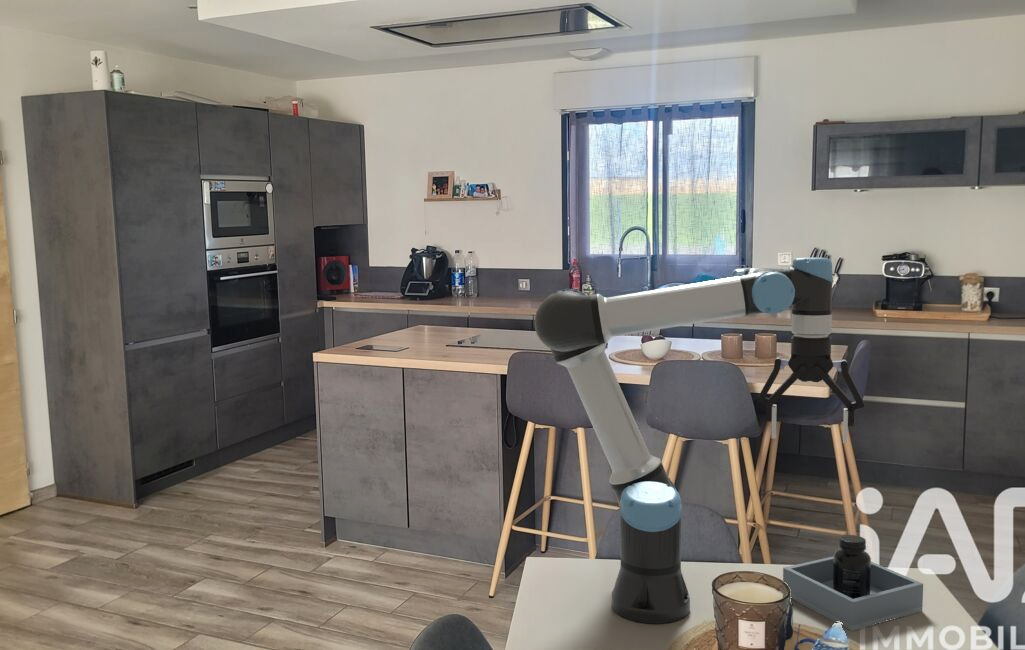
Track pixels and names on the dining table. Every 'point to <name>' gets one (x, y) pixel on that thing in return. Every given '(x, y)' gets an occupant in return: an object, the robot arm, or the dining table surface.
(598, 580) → the dining table surface
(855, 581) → the supplement bottle
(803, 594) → the open box
